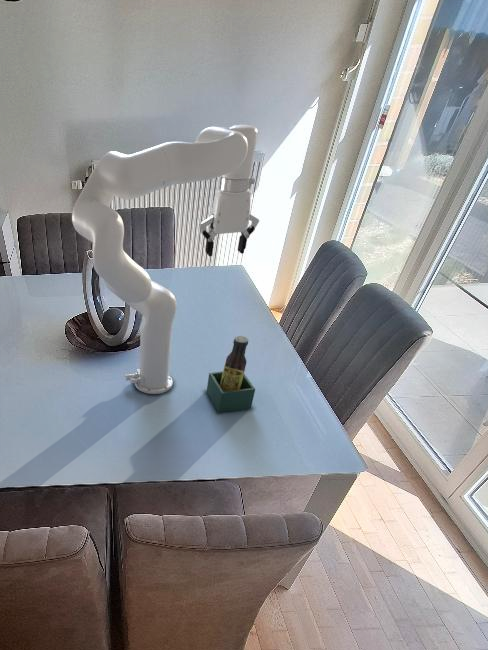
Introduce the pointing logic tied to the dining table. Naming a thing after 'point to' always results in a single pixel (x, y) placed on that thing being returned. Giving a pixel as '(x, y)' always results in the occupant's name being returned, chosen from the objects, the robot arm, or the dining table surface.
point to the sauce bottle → (235, 365)
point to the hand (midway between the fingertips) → (224, 253)
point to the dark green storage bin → (229, 394)
